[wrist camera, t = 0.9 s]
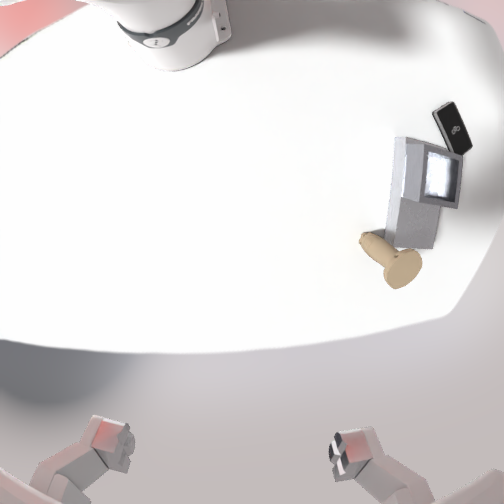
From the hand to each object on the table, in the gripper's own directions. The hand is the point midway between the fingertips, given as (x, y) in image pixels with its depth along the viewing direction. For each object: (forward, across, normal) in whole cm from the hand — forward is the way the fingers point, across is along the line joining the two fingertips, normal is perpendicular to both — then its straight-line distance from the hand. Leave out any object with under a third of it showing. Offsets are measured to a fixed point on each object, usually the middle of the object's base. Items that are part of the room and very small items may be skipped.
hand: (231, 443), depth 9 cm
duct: (+41, -32, -8) cm, 53 cm away
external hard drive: (+41, -42, -23) cm, 63 cm away
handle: (+41, -24, +2) cm, 48 cm away
